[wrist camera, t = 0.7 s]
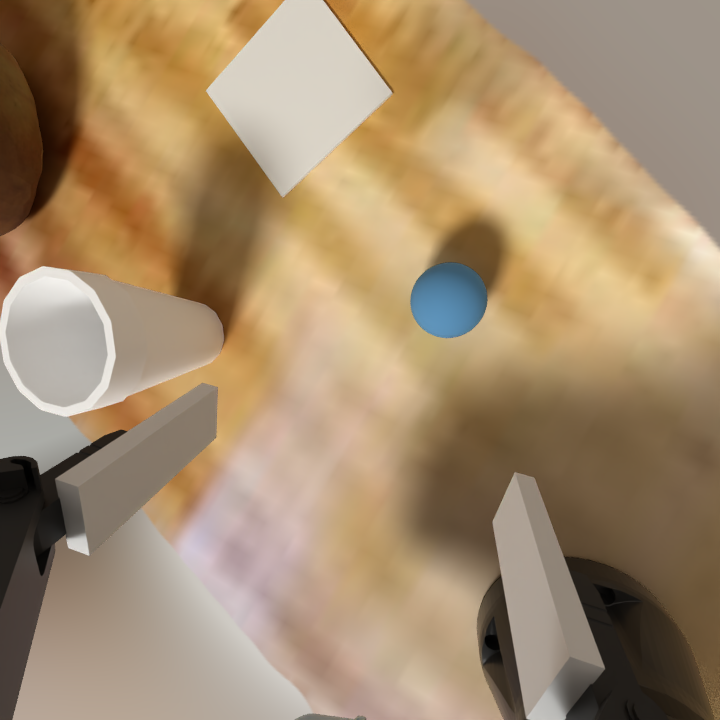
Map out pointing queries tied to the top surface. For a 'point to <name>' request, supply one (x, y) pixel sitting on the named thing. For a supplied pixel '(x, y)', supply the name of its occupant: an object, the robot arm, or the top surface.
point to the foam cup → (99, 339)
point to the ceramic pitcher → (17, 145)
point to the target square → (297, 91)
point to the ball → (448, 300)
